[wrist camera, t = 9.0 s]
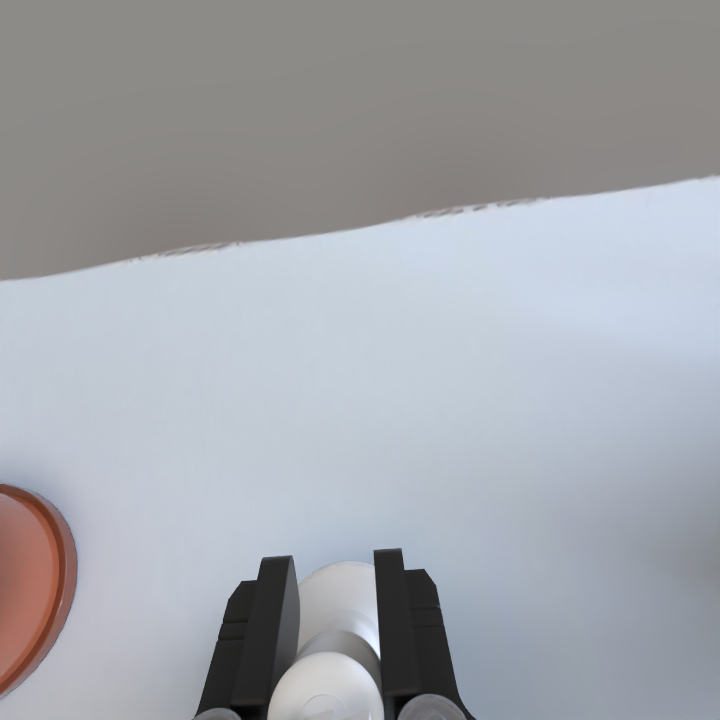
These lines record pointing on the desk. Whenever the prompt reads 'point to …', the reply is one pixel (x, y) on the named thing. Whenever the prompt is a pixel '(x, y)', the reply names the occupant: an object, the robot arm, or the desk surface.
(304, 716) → the chess piece
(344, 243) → the desk surface
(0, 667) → the upturned cup
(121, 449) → the desk surface
